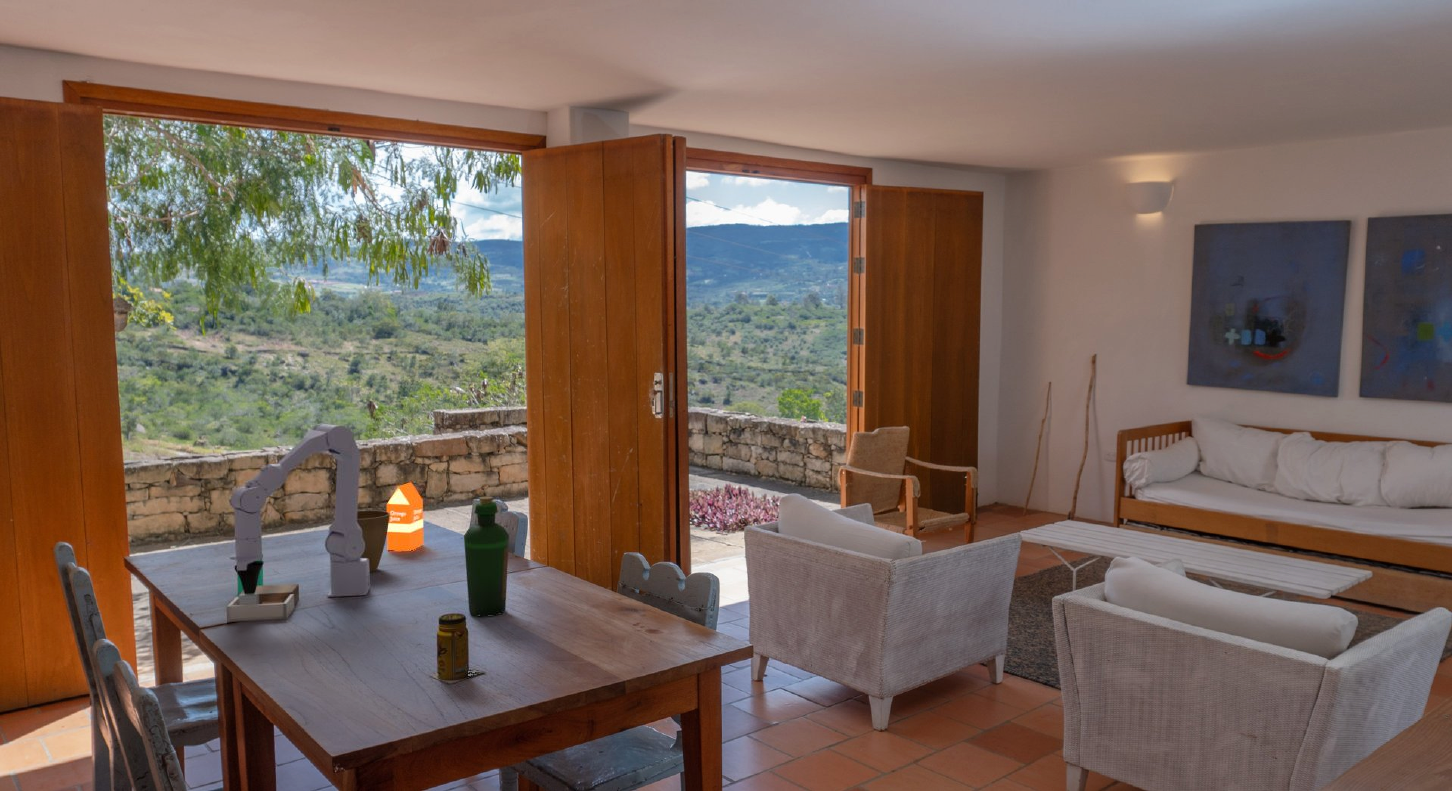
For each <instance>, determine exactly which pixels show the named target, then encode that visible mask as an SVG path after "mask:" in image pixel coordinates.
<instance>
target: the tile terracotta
mask: <svg viewBox="0 0 1452 791" xmlns="http://www.w3.org/2000/svg"><path fill="white" fill-rule="evenodd" d="M274 603H283V602H281V601H275V602H262V604H274Z"/></svg>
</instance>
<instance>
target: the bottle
mask: <svg viewBox="0 0 1452 791" xmlns="http://www.w3.org/2000/svg"><path fill="white" fill-rule="evenodd" d="M478 498H479V501H478V502H476V504H475V507H474V514H476V518H477V523H475V524H473V525H472V526H470V527H469V528H468V529H467V531H466V532H465V534H464V535H463V542H464V555H465V557H464V558H465V568H466V569H465V570H466V571H465V572H466V583H467V584H466V586H467V599H468V600H467V601H468V611H469V614H471V615H473V616H476V615H480V616H479V617H483V616H486V617H489V616H488V615H494V616H497V615H496V614H498V615H500V614H502V613H504V612H505V611H506V606H507V605H506V604H507V587H508V586H507V585H508V584H507V582H508V567H509V566H508V565H509V564H508V563H509V560H508V559H509V542H510V541H509V540H510V536H509V533H508V532H507V530H506V529H505V527H504V526H502V525H501V524H499V523H497V522H496V514H497V513H499V510H498V507H497V502H495V501H494V497H493V496H480V497H478ZM499 613H500V614H499Z"/></svg>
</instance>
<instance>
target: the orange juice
mask: <svg viewBox="0 0 1452 791" xmlns="http://www.w3.org/2000/svg"><path fill="white" fill-rule="evenodd" d="M423 501H424V499H423V498H422V497H421V495H420V494H419V492H418V490H417V489H416V488H415V486H414V485H413V482H411V481H410V482H407V483H404V484H400V485H398V486H397V488H396V489H395V491H394V493H393V494H392V495H391V497H390V499H389V500H388V502H386V512H389V513H390V517H389V524H388V531H387V536H386V542H387V543H386V544H387V545H386V546H387V550H394V551H393V552H401V551H411V550H413V551H415V550H417V549H416V548H417V547H420V546H421V545H423V546H424V506H423V504H424V503H423ZM420 548H421V547H420ZM414 549H415V550H414ZM411 552H412V551H411Z"/></svg>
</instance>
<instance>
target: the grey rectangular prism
mask: <svg viewBox="0 0 1452 791" xmlns="http://www.w3.org/2000/svg"><path fill="white" fill-rule="evenodd" d="M238 597H239V605H253V604H259V593H254V594H240V595H238Z"/></svg>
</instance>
